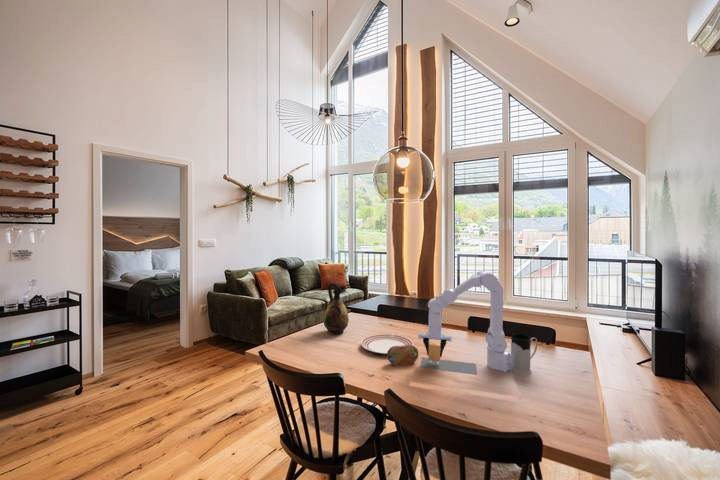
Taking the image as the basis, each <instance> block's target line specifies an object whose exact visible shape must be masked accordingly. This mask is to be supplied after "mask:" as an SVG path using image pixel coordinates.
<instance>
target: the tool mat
mask: <svg viewBox="0 0 720 480" xmlns="http://www.w3.org/2000/svg"><path fill="white" fill-rule="evenodd" d="M419 368H420V369H427V370H436V371H442V372H452V373H461V374H467V375H469V374H470V375H474V376H477V375H478V369H477V364H476V363H473V362H465V361H457V360H456V361H455V360H450V359H448V360H447V359H440V361H434V360H428V357H421V360H420V365H419Z"/></svg>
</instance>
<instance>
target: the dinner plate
mask: <svg viewBox="0 0 720 480" xmlns="http://www.w3.org/2000/svg"><path fill="white" fill-rule="evenodd" d="M360 344H361V347H362V348H364V350H367V351H370V352H373V353H376V354H381V355H387V352H388V350H389V349H390V348H391V347H393V346H400V345H412V346H414V342H413V341H412V340H411V339H410V338H408V337H405V336H402V335H399V334H393V333H391V334H390V333H380V334H373V335H370V336H366V337H365V338H363V339H362V340H361V342H360Z"/></svg>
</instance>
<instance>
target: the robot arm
mask: <svg viewBox="0 0 720 480" xmlns="http://www.w3.org/2000/svg"><path fill="white" fill-rule="evenodd" d="M482 286H483V287H484V288H485V289H487V291H489V293H490V306H489V307H490V309H489V311H490V312H489V313H490V314H489V327H488V329H487V334H486V335H485V342H486V344H487V347H486V348H487V349H486V366H487V367H488V368H489V369H492V370H497V371H501V372H504V373H506V372H507V371H511V352H510V353H509V352H507V351H506V350H507V347H508V343H507V341H506V336H505V332H504V330H503V329H504V328H503V326H504V325H503V323H504V322H503V321H504V319H503V318H504V288H503V286H502V284H501V283H500V281H499V278H498V277H497V276H496V275H494V274H493V273H491V272H490V273H489V272H487V271H485V270H479V271H478V272H477V273H474V274H473V275H471V276H470V277H469V278H466V280H464V281H463V282H462V283H460V284H458V285H457V286H456V287H454V288H453V289H452V288H451V289H450V288H448V289H447V288H446V289H444V290H443V292H442V293H441V294H439V295H435V296H434V298H431V299H430V300H428V303H427V307H428V328H427V329H428V332H427V333H425V332H424V333H421V332H419V333H418V335H417V336H418V339H420V340H421V339H422V342H423V344H424V347H425V351H426V356H428V354H429V342H430V340H434V341H435V340H436V341H440V343H441V350H440V358H442V355H443V351H444V348H445V347H446V345H447V342H449V343H450V342H452V335H446V334H442V323H443V322H442V312H443V311H444V308H446V307H447V306H449V305H450V304H452V303H453V302H455V301H457V299H458V296H460V295H461V294H463V293H465V292H466V291H468V290H470V289H471V288H482ZM511 372H512V371H511Z"/></svg>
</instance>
